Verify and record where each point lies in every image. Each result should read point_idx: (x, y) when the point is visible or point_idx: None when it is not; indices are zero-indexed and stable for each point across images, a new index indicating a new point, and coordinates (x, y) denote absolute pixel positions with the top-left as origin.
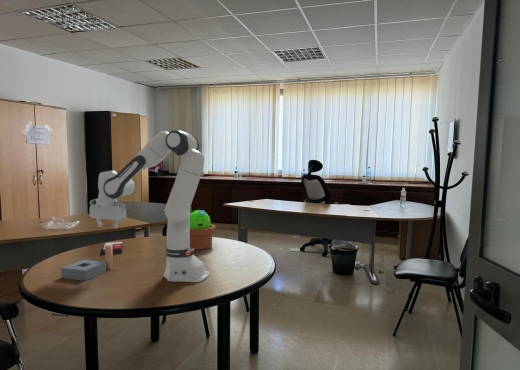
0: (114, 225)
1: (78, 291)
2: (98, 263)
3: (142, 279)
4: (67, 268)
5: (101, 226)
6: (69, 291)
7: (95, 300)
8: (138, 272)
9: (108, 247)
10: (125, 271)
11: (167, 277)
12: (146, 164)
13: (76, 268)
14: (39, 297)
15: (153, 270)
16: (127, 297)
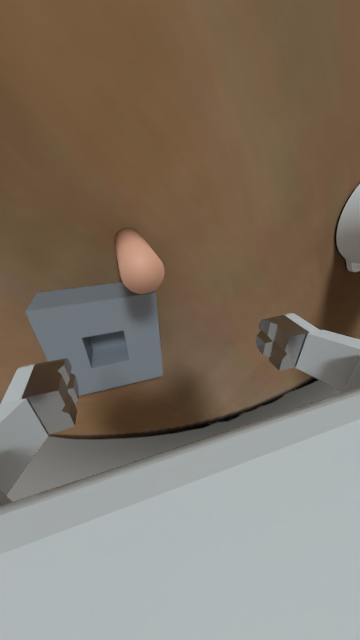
0: (286, 364)
1: (191, 390)
2: (143, 317)
3: (287, 285)
4: (92, 392)
5: (73, 380)
6: (174, 398)
7: (246, 392)
8: (256, 241)
9: (155, 287)
10: (211, 250)
11: (352, 264)
12: None
13: (119, 379)
14: (146, 432)
15: (296, 201)
16: None
